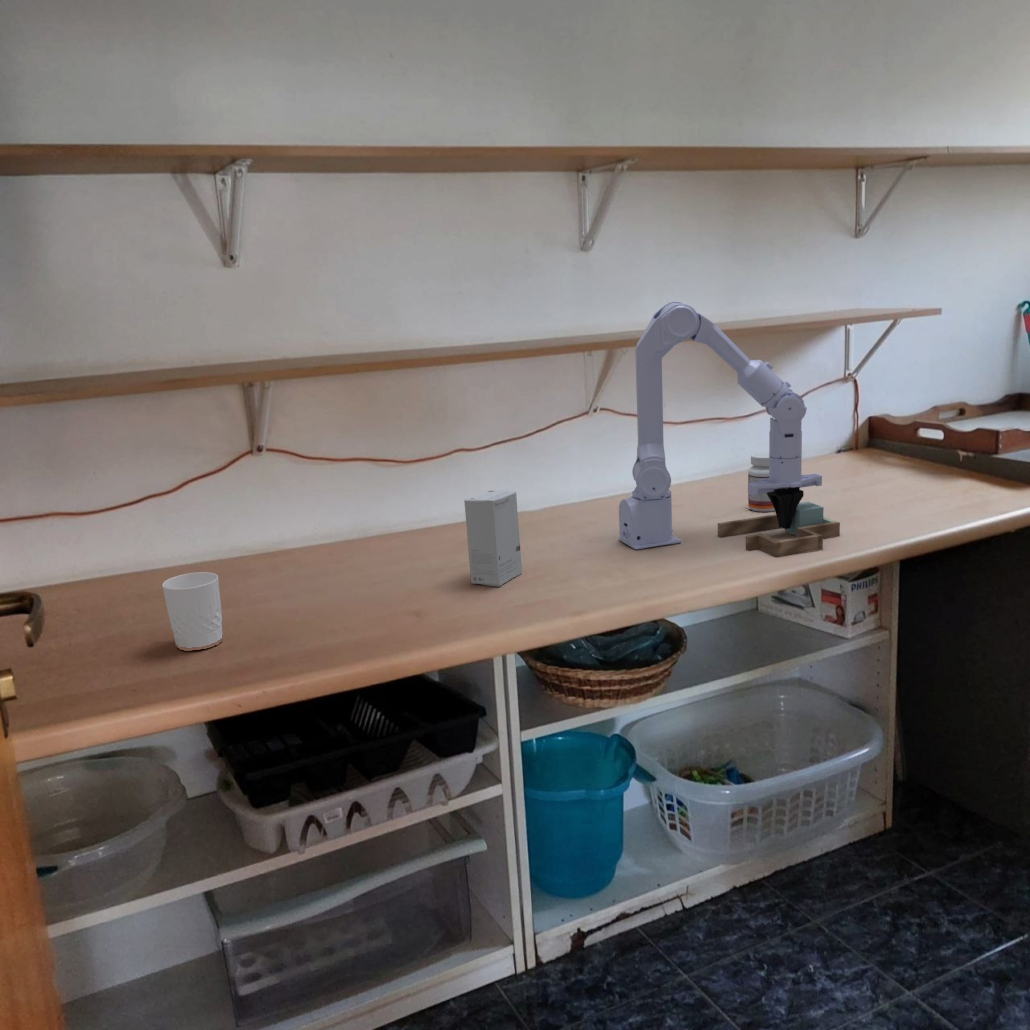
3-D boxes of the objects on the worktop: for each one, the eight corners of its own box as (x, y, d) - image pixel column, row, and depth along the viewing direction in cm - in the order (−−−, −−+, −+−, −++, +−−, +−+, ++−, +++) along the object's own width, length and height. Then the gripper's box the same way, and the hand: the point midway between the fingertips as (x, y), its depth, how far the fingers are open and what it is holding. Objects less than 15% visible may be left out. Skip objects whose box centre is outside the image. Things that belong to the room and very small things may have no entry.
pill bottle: (760, 503, 205) (760, 450, 202) (785, 508, 200) (785, 454, 197) (742, 509, 201) (741, 455, 198) (766, 514, 196) (766, 459, 193)
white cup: (232, 632, 149) (224, 570, 147) (219, 651, 142) (209, 586, 139) (181, 635, 149) (171, 573, 147) (165, 655, 141) (154, 590, 139)
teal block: (799, 536, 179) (799, 510, 178) (784, 530, 184) (784, 504, 183) (823, 533, 181) (823, 507, 179) (807, 527, 185) (808, 501, 184)
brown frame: (765, 558, 168) (765, 544, 167) (717, 535, 183) (717, 523, 183) (858, 543, 173) (859, 529, 173) (804, 522, 189) (804, 509, 188)
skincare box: (499, 588, 162) (493, 501, 158) (468, 584, 165) (462, 499, 161) (523, 573, 169) (518, 489, 165) (493, 569, 172) (488, 487, 168)
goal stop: (831, 535, 179) (831, 522, 178) (803, 524, 187) (803, 511, 187) (836, 534, 179) (836, 521, 179) (807, 523, 188) (807, 510, 187)
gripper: (762, 464, 172) (762, 538, 175) (832, 454, 176) (831, 527, 179) (741, 457, 178) (741, 529, 182) (809, 448, 182) (808, 518, 186)
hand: (784, 527), depth 181 cm, fingers closed
